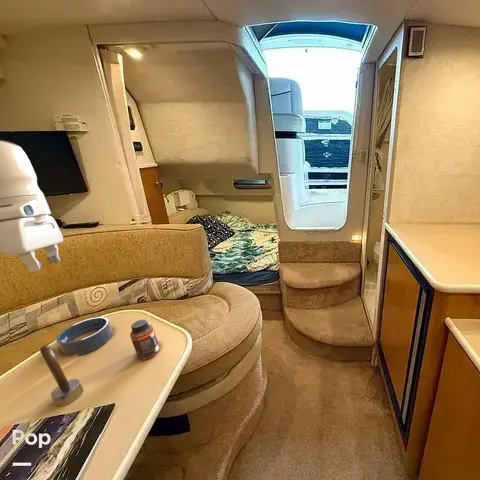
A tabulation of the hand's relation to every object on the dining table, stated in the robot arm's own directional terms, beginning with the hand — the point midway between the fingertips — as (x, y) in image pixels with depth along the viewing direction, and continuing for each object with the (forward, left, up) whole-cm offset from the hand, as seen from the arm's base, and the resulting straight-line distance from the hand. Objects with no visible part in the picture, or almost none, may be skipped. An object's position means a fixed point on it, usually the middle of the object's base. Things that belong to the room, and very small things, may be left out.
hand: (46, 266), depth 65 cm
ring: (-16, +7, -34) cm, 38 cm away
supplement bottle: (+9, +11, -34) cm, 37 cm away
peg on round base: (+3, -7, -34) cm, 35 cm away
